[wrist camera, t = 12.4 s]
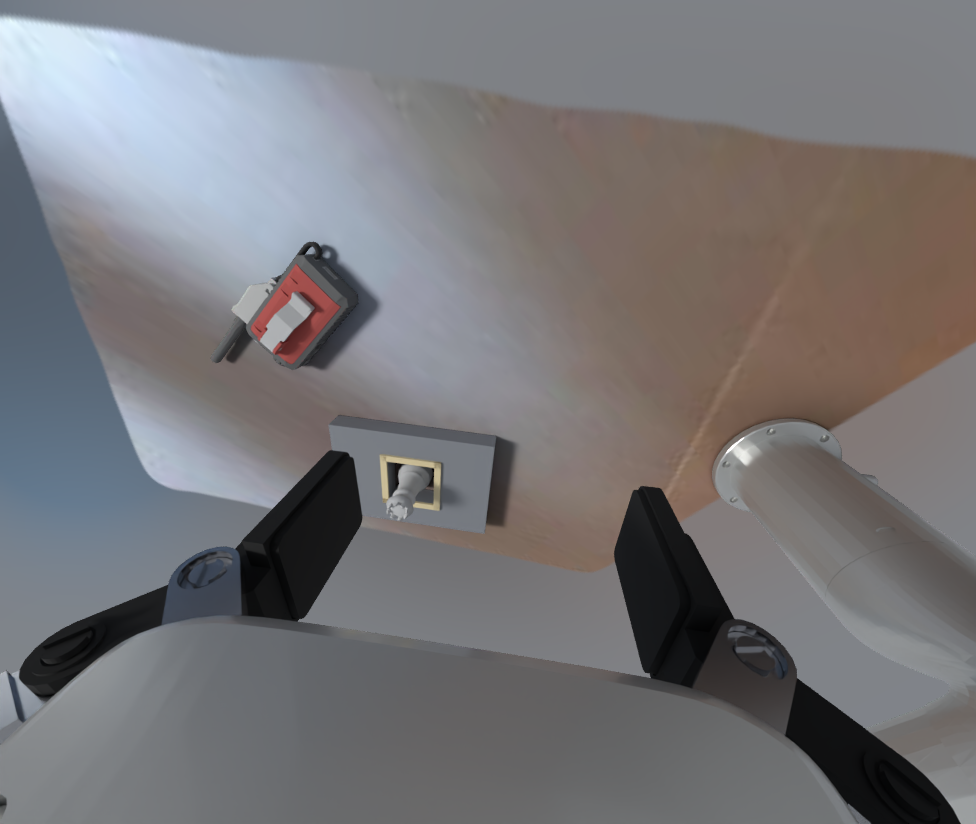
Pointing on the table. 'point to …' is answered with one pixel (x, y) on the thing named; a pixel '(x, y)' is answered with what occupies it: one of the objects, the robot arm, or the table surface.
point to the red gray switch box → (292, 310)
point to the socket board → (449, 452)
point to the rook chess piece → (408, 490)
